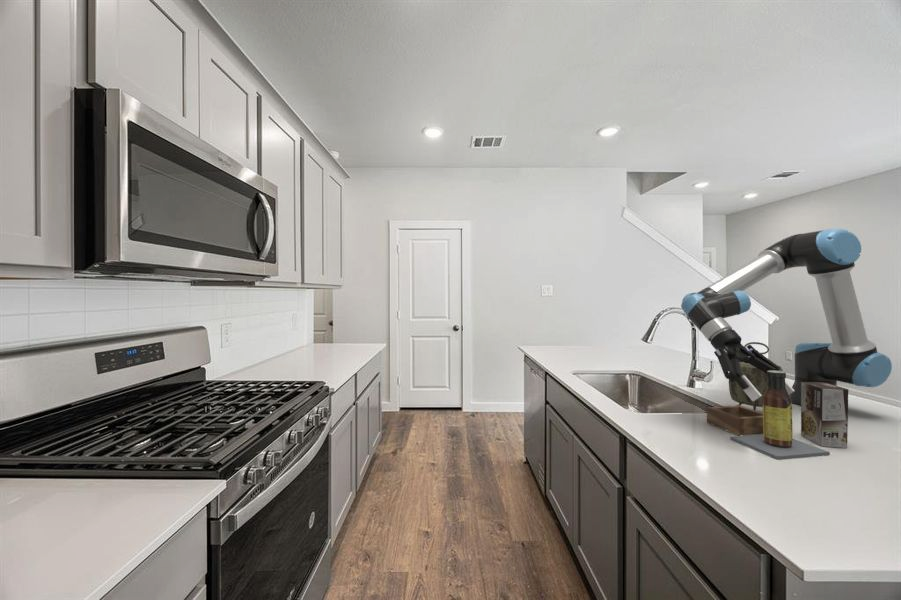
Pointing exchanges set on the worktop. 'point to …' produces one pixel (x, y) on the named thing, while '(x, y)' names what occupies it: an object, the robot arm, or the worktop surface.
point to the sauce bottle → (777, 411)
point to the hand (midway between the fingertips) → (774, 396)
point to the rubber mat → (794, 451)
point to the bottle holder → (736, 419)
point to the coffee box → (824, 414)
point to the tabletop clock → (757, 380)
